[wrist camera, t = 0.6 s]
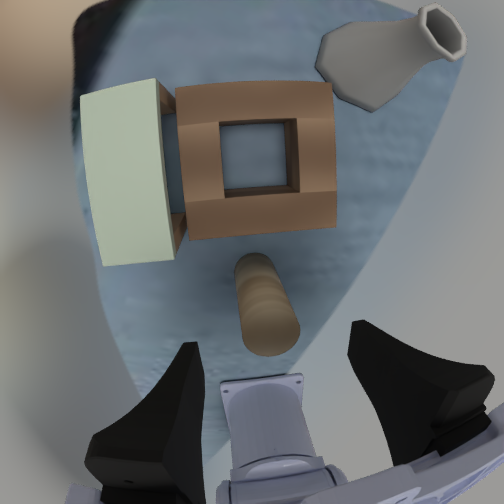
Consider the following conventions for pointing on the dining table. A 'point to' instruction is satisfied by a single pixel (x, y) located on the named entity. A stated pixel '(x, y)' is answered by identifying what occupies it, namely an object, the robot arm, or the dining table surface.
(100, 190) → the bench
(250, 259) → the peg
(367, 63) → the flask
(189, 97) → the socket
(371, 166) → the dining table surface
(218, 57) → the dining table surface
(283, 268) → the dining table surface
